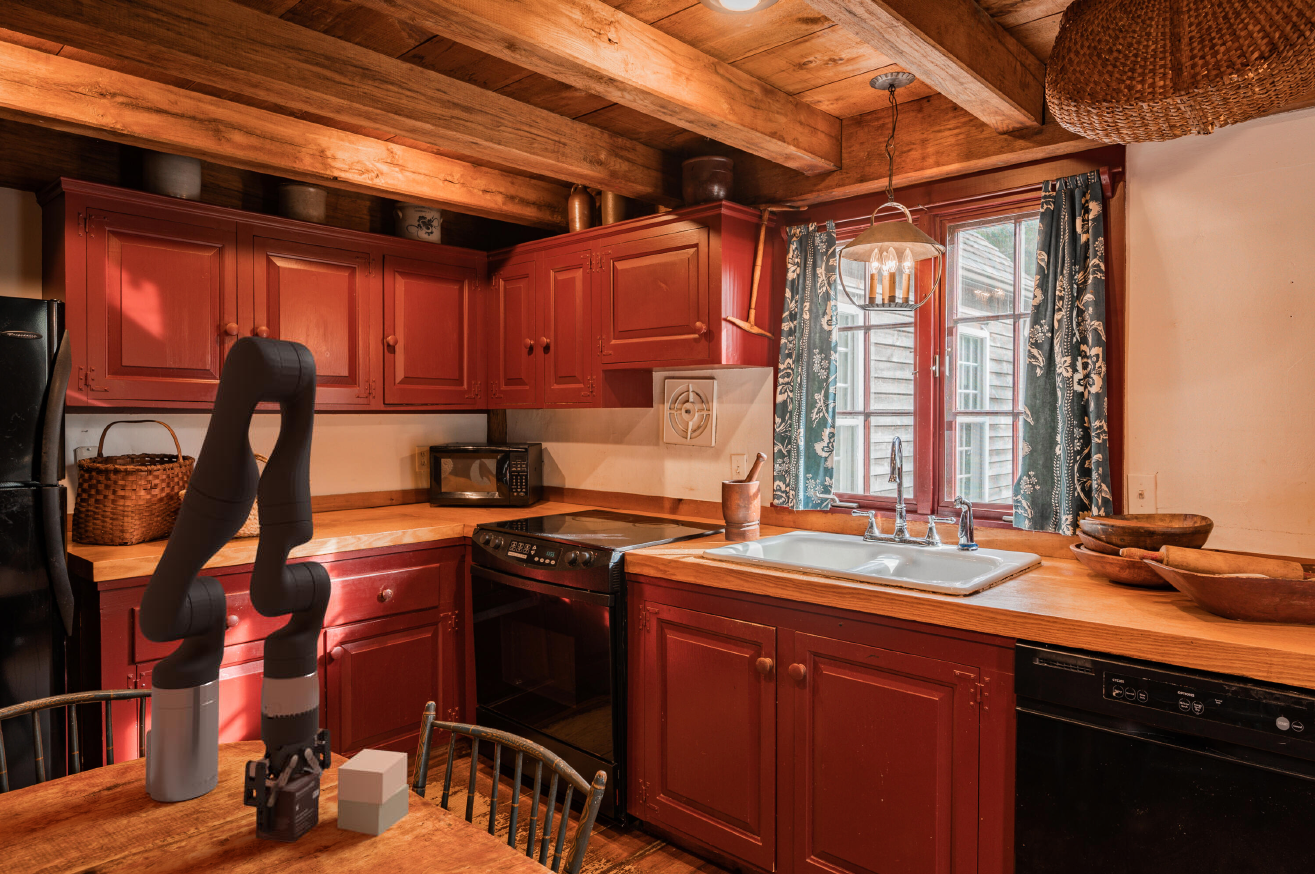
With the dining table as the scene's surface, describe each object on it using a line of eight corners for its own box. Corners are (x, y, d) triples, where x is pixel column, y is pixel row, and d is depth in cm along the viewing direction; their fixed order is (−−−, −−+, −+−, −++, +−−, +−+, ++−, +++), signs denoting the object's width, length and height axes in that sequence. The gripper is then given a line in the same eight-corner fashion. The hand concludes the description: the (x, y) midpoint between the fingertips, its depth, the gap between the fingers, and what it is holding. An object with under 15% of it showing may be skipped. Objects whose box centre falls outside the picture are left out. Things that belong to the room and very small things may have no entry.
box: (292, 844, 110) (293, 791, 110) (254, 838, 111) (255, 786, 111) (319, 822, 116) (320, 772, 116) (283, 818, 117) (283, 768, 117)
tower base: (337, 828, 115) (337, 797, 115) (368, 806, 121) (369, 777, 121) (378, 836, 113) (379, 804, 113) (408, 814, 119) (408, 784, 119)
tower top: (337, 798, 114) (338, 767, 114) (364, 778, 121) (364, 748, 121) (382, 804, 113) (382, 772, 113) (406, 782, 120) (407, 753, 120)
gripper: (304, 685, 121) (303, 791, 121) (229, 717, 108) (228, 836, 108) (346, 691, 119) (345, 799, 119) (274, 723, 106) (273, 845, 106)
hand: (289, 816), depth 114 cm, fingers open, 8 cm apart
